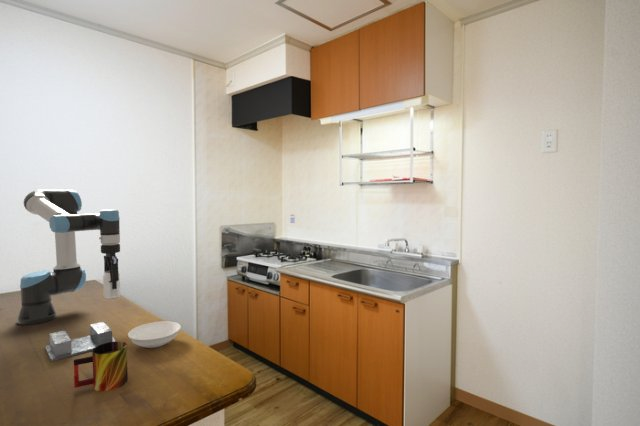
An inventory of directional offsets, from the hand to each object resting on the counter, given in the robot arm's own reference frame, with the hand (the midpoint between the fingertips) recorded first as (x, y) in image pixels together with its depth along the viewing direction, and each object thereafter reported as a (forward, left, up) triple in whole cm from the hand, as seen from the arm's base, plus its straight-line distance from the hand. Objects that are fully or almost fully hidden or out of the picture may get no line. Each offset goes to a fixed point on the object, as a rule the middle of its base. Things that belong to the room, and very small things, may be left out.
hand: (111, 294), depth 160 cm
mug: (+51, -15, -17) cm, 56 cm away
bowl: (+30, +8, -17) cm, 35 cm away
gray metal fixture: (+10, -14, -17) cm, 24 cm away
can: (0, 0, -2) cm, 2 cm away
